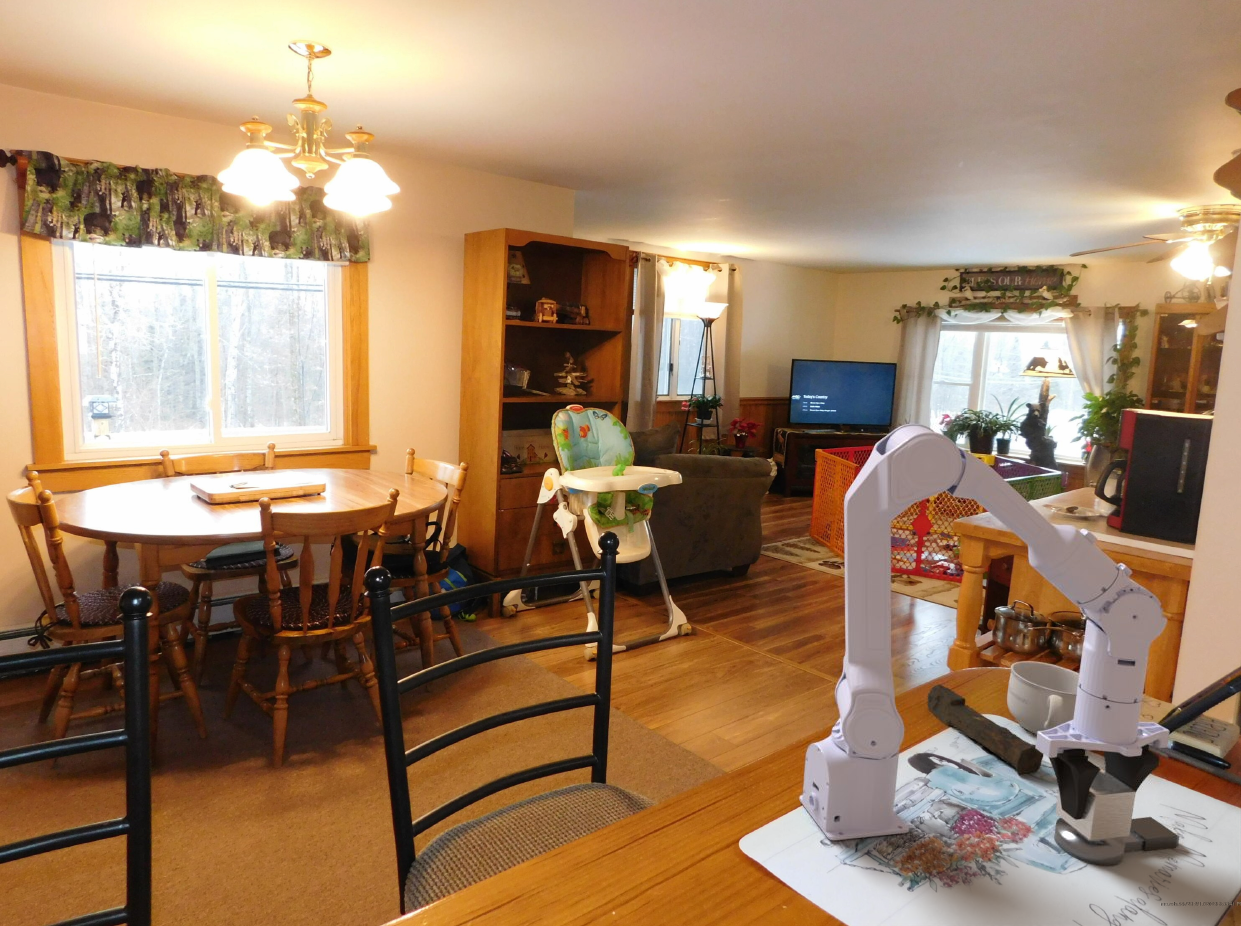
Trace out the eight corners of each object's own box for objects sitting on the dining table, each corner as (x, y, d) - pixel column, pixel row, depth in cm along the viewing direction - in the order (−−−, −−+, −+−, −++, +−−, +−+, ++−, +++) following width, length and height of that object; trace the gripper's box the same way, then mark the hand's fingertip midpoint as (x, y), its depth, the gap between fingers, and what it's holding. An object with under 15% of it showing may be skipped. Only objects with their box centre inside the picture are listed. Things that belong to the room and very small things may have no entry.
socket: (1089, 840, 82) (1096, 795, 81) (1055, 813, 86) (1061, 770, 85) (1129, 835, 83) (1135, 791, 82) (1093, 809, 87) (1099, 767, 86)
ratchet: (1085, 869, 81) (1091, 828, 80) (1040, 831, 87) (1045, 793, 87) (1192, 856, 84) (1198, 816, 83) (1141, 820, 90) (1146, 783, 89)
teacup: (1012, 704, 119) (1018, 653, 117) (1095, 726, 112) (1102, 673, 111) (992, 740, 107) (999, 684, 106) (1084, 767, 101) (1092, 708, 100)
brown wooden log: (1043, 775, 99) (1048, 741, 99) (1017, 779, 98) (1022, 744, 98) (943, 708, 117) (946, 678, 117) (920, 710, 116) (923, 680, 116)
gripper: (1079, 713, 77) (1062, 841, 79) (1202, 704, 80) (1183, 827, 82) (1027, 682, 84) (1013, 801, 86) (1143, 675, 87) (1126, 789, 89)
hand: (1092, 811), depth 84 cm, fingers closed on socket, 5 cm apart
